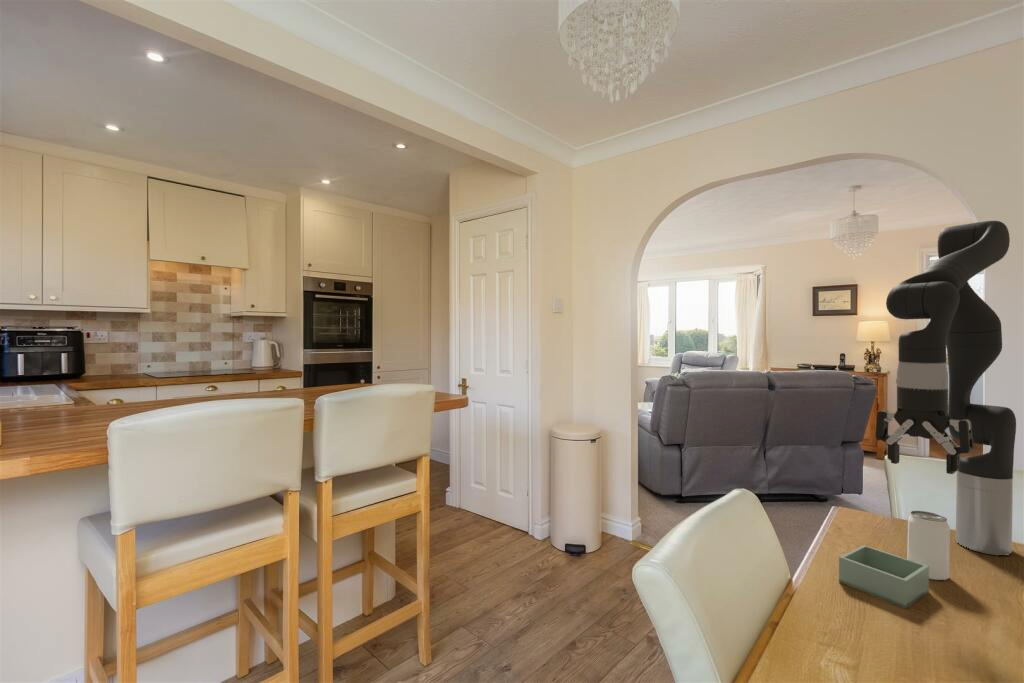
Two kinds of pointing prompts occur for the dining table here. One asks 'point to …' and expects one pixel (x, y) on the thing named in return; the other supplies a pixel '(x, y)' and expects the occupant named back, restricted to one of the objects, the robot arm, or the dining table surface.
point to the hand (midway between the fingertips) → (921, 467)
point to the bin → (884, 575)
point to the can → (929, 542)
